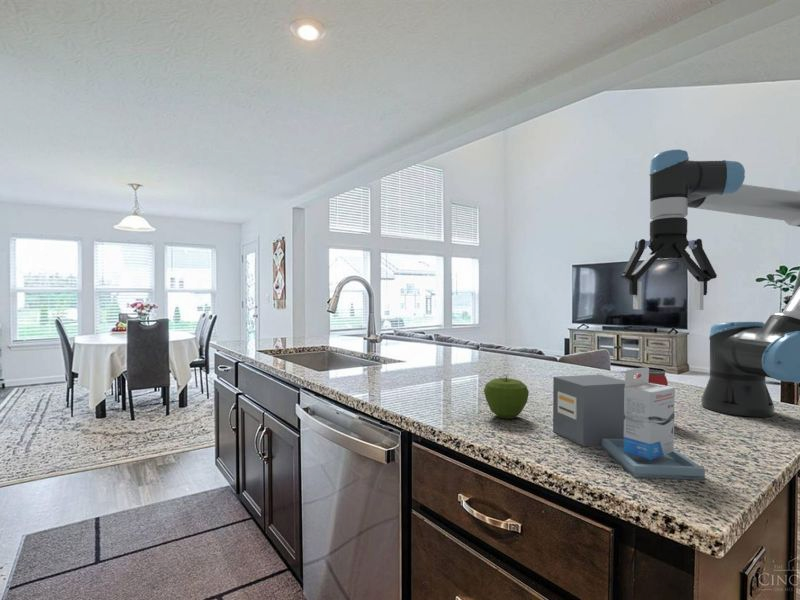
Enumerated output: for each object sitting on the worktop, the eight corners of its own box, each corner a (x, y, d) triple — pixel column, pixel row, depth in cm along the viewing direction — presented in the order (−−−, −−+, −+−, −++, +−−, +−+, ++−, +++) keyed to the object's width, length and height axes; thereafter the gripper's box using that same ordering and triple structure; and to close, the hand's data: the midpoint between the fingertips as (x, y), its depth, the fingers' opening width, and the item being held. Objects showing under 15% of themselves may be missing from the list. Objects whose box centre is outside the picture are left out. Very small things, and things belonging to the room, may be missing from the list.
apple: (481, 411, 112) (481, 372, 112) (522, 411, 111) (522, 373, 111) (488, 423, 101) (488, 380, 101) (533, 424, 101) (533, 381, 100)
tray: (660, 449, 84) (660, 440, 84) (704, 480, 70) (704, 468, 70) (601, 447, 85) (601, 438, 85) (633, 477, 71) (633, 466, 71)
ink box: (651, 461, 73) (652, 374, 73) (622, 452, 77) (623, 370, 77) (675, 451, 78) (676, 369, 78) (646, 443, 82) (647, 366, 82)
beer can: (663, 419, 105) (663, 369, 105) (670, 426, 99) (671, 374, 99) (633, 416, 107) (633, 368, 107) (638, 424, 101) (638, 372, 101)
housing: (600, 427, 98) (600, 374, 98) (634, 441, 88) (635, 383, 88) (551, 431, 95) (552, 376, 95) (581, 446, 85) (582, 385, 85)
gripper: (714, 221, 104) (713, 309, 104) (606, 222, 106) (606, 308, 106) (735, 215, 97) (735, 310, 97) (619, 216, 99) (618, 309, 99)
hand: (667, 309), depth 102 cm, fingers open, 13 cm apart
